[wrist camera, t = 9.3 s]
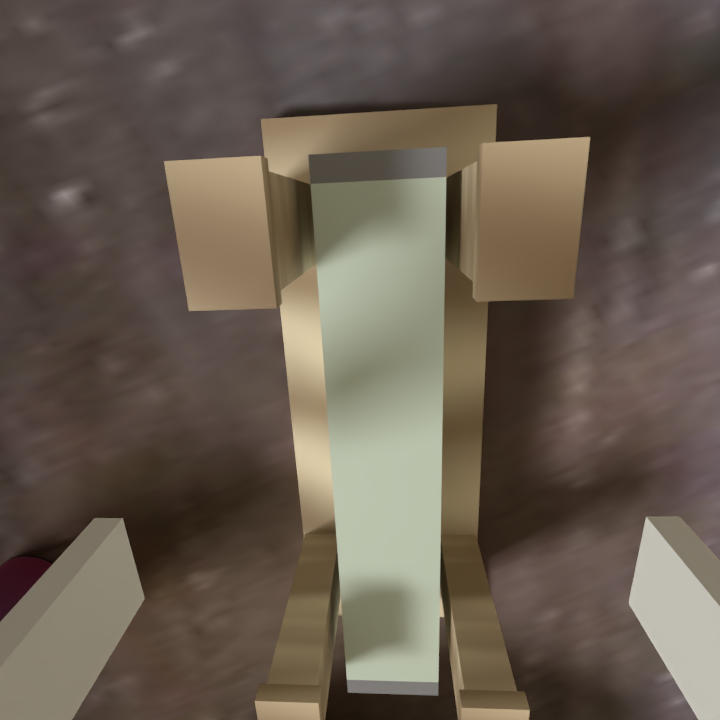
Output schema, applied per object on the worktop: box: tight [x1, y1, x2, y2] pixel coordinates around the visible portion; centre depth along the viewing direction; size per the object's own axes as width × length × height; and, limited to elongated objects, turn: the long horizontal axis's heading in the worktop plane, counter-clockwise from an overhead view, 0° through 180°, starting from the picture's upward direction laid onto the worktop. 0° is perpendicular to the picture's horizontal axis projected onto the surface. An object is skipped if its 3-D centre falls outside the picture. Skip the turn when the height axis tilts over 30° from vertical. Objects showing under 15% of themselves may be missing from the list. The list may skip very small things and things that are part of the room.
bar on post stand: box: [164, 104, 590, 720], centre depth 17 cm, size 25×9×10 cm, turn 3°
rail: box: [308, 147, 447, 696], centre depth 19 cm, size 22×4×5 cm, turn 3°
